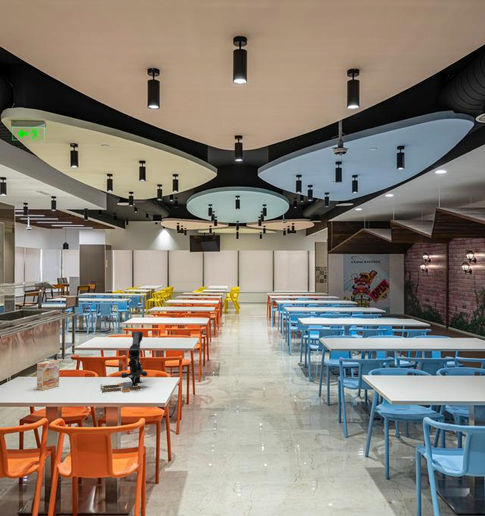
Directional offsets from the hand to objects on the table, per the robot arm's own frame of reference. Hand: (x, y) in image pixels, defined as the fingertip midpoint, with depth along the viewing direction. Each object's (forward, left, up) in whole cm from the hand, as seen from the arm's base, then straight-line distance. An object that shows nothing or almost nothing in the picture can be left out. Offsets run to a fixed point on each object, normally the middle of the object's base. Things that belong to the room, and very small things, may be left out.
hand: (133, 386), depth 360 cm
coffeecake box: (-22, -59, -2) cm, 63 cm away
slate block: (0, -5, -1) cm, 5 cm away
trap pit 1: (-9, -7, -1) cm, 12 cm away
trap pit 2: (+9, -7, -1) cm, 12 cm away
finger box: (0, -10, -1) cm, 10 cm away
